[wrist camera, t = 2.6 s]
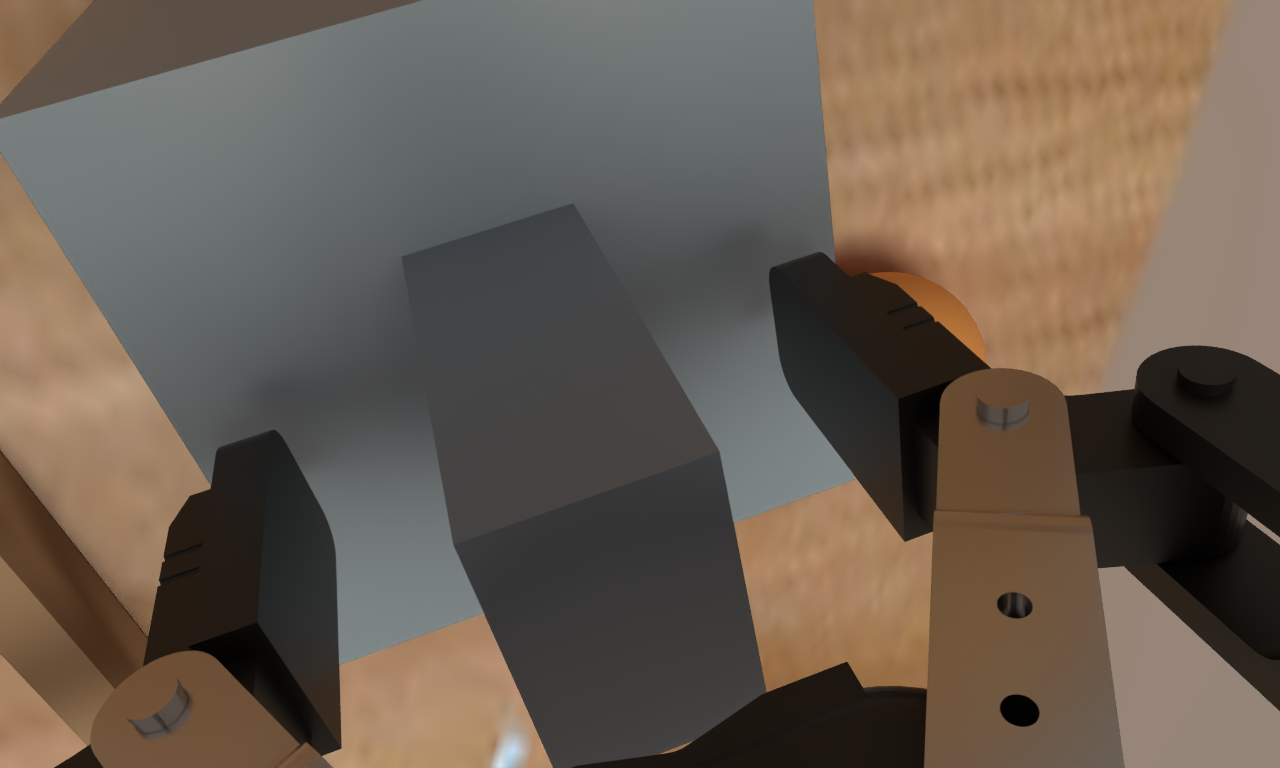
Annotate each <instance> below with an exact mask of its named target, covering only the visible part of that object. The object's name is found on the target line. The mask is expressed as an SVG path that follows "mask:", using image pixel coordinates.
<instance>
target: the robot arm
mask: <svg viewBox="0 0 1280 768" xmlns="http://www.w3.org/2000/svg"><path fill="white" fill-rule="evenodd" d="M769 286H770V293H771V301H772V308H773V315H774V323H775V330H776V337H777V345H778V352H779V358H780V363H781V367H782V370H783V373H784V376H785V379H786V381H787V384H788V386H789V388H790V390H791V392H792V394H793V395H794V397H795V398H796V399H797V401H798V402H799V403H800V405H801V406H802V407H803V409H804V410H805V411H806V413H807V414H808V415H809V417H810V418H811V419H812V421H813V422H814V423H815V424H816V426H817V427H818V428H819V430H820V431H821V432H822V434H823V435H824V436H825V438H826V439H827V440H828V442H829V443H830V444H831V445H832V447H833V448H834V449H835V451H836V452H837V453H838V455H839V456H840V457H841V459H842V460H843V461H844V463H845V464H846V465H847V467H848V468H849V469H850V470H851V472H852V473H853V474H854V476H855V477H856V478H857V480H858V481H859V482H860V484H861V485H862V486H863V488H864V489H865V490H866V491H867V493H868V494H869V495H870V497H871V498H872V499H873V501H874V502H875V503H876V505H877V506H878V507H879V509H880V510H881V511H882V513H883V514H884V515H885V516H886V518H887V519H888V520H889V522H890V523H891V524H892V526H893V527H894V528H895V530H896V531H897V532H898V534H899V535H900V536H901V537H902V539H903V540H904V541H905V542H906V541H908V540H911V539H914V538H916V537H919V536H922V535H924V534H927V533H930V532H933V547H932V574H931V600H930V626H929V653H928V679H927V689H924V688H915V687H904V686H875V687H867V688H863V687H862V686H861V684H860V682H859V681H858V679H857V677H856V676H855V674H854V672H853V671H852V669H851V667H850V666H849V664H848V662H845V663H842V664H840V665H837V666H835V667H832V668H829V669H827V670H824V671H822V672H819V673H816V674H814V675H811V676H809V677H806V678H803V679H801V680H798V681H796V682H793V683H790V684H788V685H785V686H783V687H780V688H777V689H775V690H772V691H769V692H767V693H764V694H762V695H760V696H759V697H757V698H756V699H754V700H753V701H751V702H750V703H748V704H747V705H745V706H744V707H743V708H741V709H740V710H738V711H737V712H735V713H734V714H732V715H731V716H729V717H728V718H727V719H725V720H724V721H722V722H721V723H719V724H718V725H716V726H715V727H714V728H712V729H711V730H709V731H708V732H706V733H705V734H703V735H702V736H700V737H699V738H698V739H696V740H695V741H693V742H692V743H690V744H689V745H687V746H686V747H684V748H682V749H680V750H678V751H675V752H671V753H666V754H658V755H651V756H644V757H636V758H629V759H622V760H614V761H607V762H600V763H592V764H585V765H578V766H574V767H572V768H1124V760H1123V753H1122V745H1121V737H1120V730H1119V722H1118V715H1117V708H1116V700H1115V693H1114V686H1113V678H1112V670H1111V663H1110V655H1109V649H1108V640H1107V633H1106V625H1105V618H1104V610H1103V603H1102V596H1101V588H1100V581H1099V573H1098V568H1107V567H1119V566H1124V567H1125V568H1126V569H1127V570H1128V571H1129V572H1131V574H1133V575H1134V576H1135V577H1136V578H1137V579H1138V580H1139V581H1140V582H1141V583H1142V584H1143V585H1144V586H1146V587H1147V588H1148V589H1149V590H1150V591H1151V592H1152V593H1153V594H1154V595H1155V596H1156V597H1158V598H1159V599H1160V600H1161V601H1162V602H1163V603H1164V604H1165V605H1166V606H1167V607H1168V608H1169V609H1170V610H1171V611H1172V612H1173V613H1175V614H1176V615H1177V616H1178V617H1179V618H1180V619H1181V620H1182V621H1183V622H1184V623H1185V624H1187V625H1188V626H1189V627H1190V628H1191V629H1192V630H1193V631H1194V632H1195V633H1196V634H1197V635H1199V637H1201V638H1202V639H1203V640H1204V641H1205V642H1206V643H1207V644H1208V645H1209V646H1210V647H1211V648H1212V649H1213V650H1214V651H1216V652H1217V653H1218V654H1219V655H1220V656H1221V657H1222V658H1223V659H1224V660H1225V661H1226V662H1227V663H1229V664H1230V665H1231V666H1232V667H1233V668H1234V669H1235V670H1236V671H1237V672H1238V673H1239V674H1240V675H1241V676H1242V677H1244V678H1245V679H1246V680H1247V681H1248V682H1249V683H1250V684H1251V685H1252V686H1253V687H1254V688H1255V689H1257V690H1258V691H1259V692H1260V693H1261V694H1262V695H1263V696H1264V697H1265V698H1266V699H1267V700H1268V701H1269V702H1271V703H1272V704H1273V705H1274V706H1275V707H1276V708H1277V709H1278V710H1279V711H1280V545H1279V544H1278V543H1277V542H1275V541H1274V540H1273V539H1271V538H1270V537H1269V536H1267V535H1266V534H1265V533H1263V532H1262V531H1261V530H1260V529H1258V528H1257V527H1256V526H1254V525H1253V524H1252V523H1250V522H1249V521H1248V520H1247V519H1246V518H1247V514H1250V515H1251V516H1252V517H1254V518H1255V519H1256V520H1258V521H1259V522H1260V523H1262V524H1263V525H1264V526H1266V527H1267V528H1268V529H1270V530H1271V531H1272V532H1274V533H1275V534H1276V535H1278V536H1279V537H1280V375H1279V374H1278V373H1276V372H1274V371H1273V370H1271V369H1269V368H1267V367H1266V366H1264V365H1262V364H1261V363H1259V362H1257V361H1256V360H1254V359H1252V358H1250V357H1248V356H1246V355H1243V354H1240V353H1237V352H1234V351H1230V350H1227V349H1223V348H1217V347H1210V346H1182V347H1174V348H1169V349H1166V350H1163V351H1160V352H1157V353H1155V354H1153V355H1151V356H1150V357H1148V358H1147V359H1146V360H1144V362H1143V363H1142V364H1141V365H1140V367H1139V368H1138V370H1137V376H1136V383H1135V389H1131V390H1122V391H1113V392H1104V393H1095V394H1086V395H1074V396H1064V395H1063V393H1062V392H1061V391H1060V390H1059V389H1058V387H1057V386H1056V385H1054V384H1053V383H1051V382H1050V381H1049V380H1047V379H1045V378H1043V377H1041V376H1039V375H1036V374H1033V373H1030V372H1027V371H1023V370H1017V369H1007V368H995V369H991V368H990V367H989V366H988V365H987V364H986V363H985V362H984V361H982V360H981V359H980V358H979V357H978V356H977V355H976V354H975V353H973V352H972V351H971V350H970V349H969V348H968V347H967V346H966V345H964V344H963V343H962V342H961V341H960V340H959V339H958V338H957V337H955V336H954V335H953V334H952V333H951V332H950V331H949V330H948V329H947V328H945V327H944V326H943V325H942V324H941V323H940V322H939V321H936V322H935V320H934V317H933V316H932V315H931V314H930V313H929V312H927V311H926V310H925V309H924V308H923V307H922V306H919V307H918V304H917V302H916V301H915V300H914V299H913V298H912V297H911V296H909V295H908V294H907V293H906V292H905V291H904V290H903V289H902V288H900V287H899V286H898V285H897V284H895V283H892V282H890V281H887V280H884V279H882V278H879V277H876V276H873V275H871V274H868V273H862V274H859V275H856V276H853V277H849V276H848V275H847V274H845V273H844V272H843V271H842V270H841V269H840V268H839V267H838V266H837V265H836V264H835V263H834V262H833V261H832V260H831V259H830V258H829V257H828V256H827V255H825V254H824V253H823V252H816V253H813V254H810V255H807V256H804V257H801V258H798V259H795V260H792V261H789V262H786V263H783V264H780V265H777V266H774V267H772V268H771V269H770V272H769ZM164 558H165V562H162V567H161V573H160V578H159V581H160V584H161V586H158V588H157V594H156V599H155V604H154V610H153V615H152V620H151V625H150V631H149V636H148V641H147V647H146V652H145V657H144V662H143V667H142V668H140V669H139V670H137V671H136V672H134V673H133V674H132V675H130V676H129V677H128V678H127V679H126V680H124V681H123V682H122V683H121V684H120V685H119V686H118V687H117V688H116V689H115V690H114V691H113V692H112V693H111V694H110V696H109V697H108V698H107V699H106V701H105V702H104V703H103V705H102V707H101V708H100V710H99V711H98V713H97V715H96V718H95V720H94V722H93V725H92V729H91V735H90V743H91V744H90V745H88V746H87V747H86V748H84V749H83V750H81V751H80V752H78V753H77V754H75V755H74V756H72V757H71V758H69V759H67V760H66V761H64V762H63V763H61V764H59V765H58V766H56V767H54V768H333V767H332V766H331V765H330V764H329V763H328V762H327V761H326V760H325V759H324V758H323V757H322V756H323V755H325V754H328V753H331V752H334V751H336V750H339V749H341V714H340V679H339V643H338V608H337V573H336V551H335V545H334V540H333V536H332V533H331V529H330V526H329V523H328V521H327V518H326V516H325V514H324V512H323V510H322V508H321V506H320V504H319V502H318V501H317V499H316V497H315V495H314V493H313V491H312V490H311V488H310V486H309V484H308V482H307V480H306V479H305V477H304V475H303V473H302V471H301V469H300V468H299V466H298V464H297V462H296V460H295V459H294V457H293V455H292V453H291V451H290V449H289V448H288V446H287V444H286V442H285V440H284V439H283V437H282V436H281V435H280V434H279V433H278V432H277V431H276V430H270V431H267V432H264V433H261V434H258V435H255V436H252V437H249V438H246V439H243V440H240V441H237V442H234V443H231V444H227V445H224V446H221V447H219V448H218V449H217V451H216V455H215V462H214V469H213V476H212V483H211V489H209V490H206V491H203V492H200V493H197V494H194V495H191V496H190V497H189V498H188V500H187V501H186V503H185V504H184V506H183V507H182V509H181V510H180V512H179V513H178V515H177V516H176V518H175V519H174V521H173V522H172V524H171V525H170V526H169V530H168V536H167V541H166V546H165V552H164Z"/></svg>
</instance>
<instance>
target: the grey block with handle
mask: <svg viewBox="0 0 1280 768" xmlns="http://www.w3.org/2000/svg"><path fill="white" fill-rule="evenodd" d="M0 152H1V154H2V155H3V157H4V159H5V160H6V162H7V163H8V165H9V167H10V168H11V170H12V171H13V173H14V174H15V176H16V178H17V179H18V181H19V182H20V184H21V186H22V187H23V189H24V190H25V192H26V193H27V195H28V197H29V198H30V200H31V201H32V203H33V205H34V206H35V208H36V209H37V211H38V212H39V214H40V216H41V217H42V219H43V220H44V222H45V224H46V225H47V227H48V228H49V230H50V231H51V233H52V235H53V236H54V238H55V239H56V241H57V243H58V244H59V246H60V247H61V249H62V250H63V252H64V254H65V255H66V257H67V258H68V260H69V262H70V263H71V265H72V266H73V268H74V269H75V271H76V273H77V274H78V276H79V277H80V279H81V281H82V282H83V284H84V285H85V287H86V288H87V290H88V292H89V293H90V295H91V296H92V298H93V300H94V301H95V303H96V304H97V306H98V307H99V309H100V311H101V312H102V314H103V315H104V317H105V319H106V320H107V322H108V323H109V325H110V326H111V328H112V330H113V331H114V333H115V334H116V336H117V338H118V339H119V341H120V342H121V344H122V345H123V347H124V349H125V350H126V352H127V353H128V355H129V357H130V358H131V360H132V361H133V363H134V364H135V366H136V368H137V369H138V371H139V372H140V374H141V376H142V377H143V379H144V380H145V382H146V383H147V385H148V387H149V388H150V390H151V391H152V393H153V395H154V396H155V398H156V399H157V401H158V402H159V404H160V406H161V407H162V409H163V410H164V412H165V414H166V415H167V417H168V418H169V420H170V421H171V423H172V425H173V426H174V428H175V429H176V431H177V433H178V434H179V436H180V437H181V439H182V440H183V442H184V444H185V445H186V447H187V448H188V450H189V452H190V453H191V455H192V456H193V458H194V459H195V461H196V463H197V464H198V466H199V467H200V469H201V471H202V472H203V474H204V475H205V477H206V478H207V480H208V482H209V483H210V485H211V483H212V476H213V469H214V462H215V455H216V451H217V449H218V448H219V447H221V446H224V445H227V444H231V443H234V442H237V441H240V440H243V439H246V438H249V437H252V436H255V435H258V434H261V433H264V432H267V431H270V430H276V431H277V432H278V433H279V434H280V435H281V436H282V437H283V439H284V440H285V442H286V444H287V446H288V448H289V449H290V451H291V453H292V455H293V457H294V459H295V460H296V462H297V464H298V466H299V468H300V469H301V471H302V473H303V475H304V477H305V479H306V480H307V482H308V484H309V486H310V488H311V490H312V491H313V493H314V495H315V497H316V499H317V501H318V502H319V504H320V506H321V508H322V510H323V512H324V514H325V516H326V518H327V521H328V523H329V526H330V529H331V533H332V536H333V540H334V545H335V551H336V573H337V608H338V643H339V665H341V664H344V663H347V662H350V661H352V660H355V659H358V658H361V657H363V656H366V655H369V654H372V653H375V652H377V651H380V650H383V649H386V648H388V647H391V646H394V645H397V644H400V643H402V642H405V641H408V640H411V639H413V638H416V637H419V636H422V635H425V634H427V633H430V632H433V631H436V630H438V629H441V628H444V627H447V626H450V625H452V624H455V623H458V622H461V621H463V620H466V619H469V618H472V617H474V616H477V615H480V614H483V613H484V614H485V617H486V619H487V621H488V623H489V626H490V628H491V630H492V632H493V634H494V637H495V639H496V641H497V643H498V646H499V648H500V650H501V652H502V655H503V657H504V659H505V661H506V663H507V666H508V668H509V670H510V672H511V675H512V677H513V679H514V681H515V683H516V686H517V688H518V690H519V692H520V695H521V697H522V699H523V701H524V704H525V706H526V708H527V710H528V712H529V715H530V717H531V719H532V721H533V724H534V726H535V728H536V730H537V733H538V735H539V737H540V739H541V741H542V744H543V746H544V748H545V750H546V753H547V755H548V757H549V759H550V762H551V764H552V766H553V768H572V767H574V766H578V765H585V764H592V763H600V762H607V761H614V760H622V759H629V758H636V757H644V756H651V755H657V754H660V753H663V752H665V751H668V750H670V749H673V748H676V747H678V746H681V745H683V744H686V743H688V742H691V741H694V740H696V739H698V738H699V737H700V736H702V735H703V734H705V733H706V732H708V731H709V730H711V729H712V728H714V727H715V726H716V725H718V724H719V723H721V722H722V721H724V720H725V719H727V718H728V717H729V716H731V715H732V714H734V713H735V712H737V711H738V710H740V709H741V708H743V707H744V706H745V705H747V704H748V703H750V702H751V701H753V700H754V699H756V698H757V697H759V696H760V695H762V694H764V693H766V687H765V682H764V677H763V672H762V667H761V662H760V656H759V651H758V646H757V641H756V636H755V631H754V626H753V620H752V615H751V610H750V605H749V600H748V595H747V590H746V584H745V579H744V574H743V569H742V564H741V559H740V553H739V548H738V543H737V538H736V533H735V528H734V523H735V522H738V521H741V520H744V519H746V518H749V517H752V516H755V515H758V514H760V513H763V512H766V511H769V510H771V509H774V508H777V507H780V506H783V505H785V504H788V503H791V502H794V501H796V500H799V499H802V498H805V497H807V496H810V495H813V494H816V493H819V492H821V491H824V490H827V489H830V488H832V487H835V486H838V485H841V484H844V483H846V482H849V481H852V480H854V475H853V473H852V472H851V470H850V469H849V468H848V467H847V465H846V464H845V463H844V461H843V460H842V459H841V457H840V456H839V455H838V453H837V452H836V451H835V449H834V448H833V447H832V445H831V444H830V443H829V442H828V440H827V439H826V438H825V436H824V435H823V434H822V432H821V431H820V430H819V428H818V427H817V426H816V424H815V423H814V422H813V421H812V419H811V418H810V417H809V415H808V414H807V413H806V411H805V410H804V409H803V407H802V406H801V405H800V403H799V402H798V401H797V399H796V398H795V397H794V395H793V394H792V392H791V390H790V388H789V386H788V384H787V381H786V379H785V376H784V373H783V370H782V367H781V363H780V358H779V352H778V345H777V337H776V330H775V323H774V315H773V308H772V301H771V293H770V286H769V272H770V269H771V268H772V267H774V266H777V265H780V264H783V263H786V262H789V261H792V260H795V259H798V258H801V257H804V256H807V255H810V254H813V253H816V252H823V253H824V254H825V255H827V256H828V257H829V258H830V259H831V260H832V261H833V262H834V263H835V252H834V241H833V229H832V217H831V206H830V194H829V182H828V171H827V159H826V147H825V136H824V124H823V112H822V100H821V89H820V77H819V65H818V54H817V42H816V30H815V19H814V7H813V0H94V1H93V2H92V4H91V5H90V6H89V7H88V8H87V9H86V10H85V11H84V12H83V13H82V15H81V16H80V17H79V18H78V19H77V20H76V21H75V22H74V23H73V24H72V26H71V27H70V28H69V29H68V30H67V31H66V32H65V33H64V34H63V35H62V37H61V38H60V39H59V40H58V41H57V42H56V43H55V44H54V45H53V46H52V48H51V49H50V50H49V51H48V52H47V53H46V54H45V55H44V56H43V57H42V59H41V60H40V61H39V62H38V63H37V64H36V65H35V66H34V67H33V68H32V70H31V71H30V72H29V73H28V74H27V75H26V76H25V77H24V78H23V79H22V81H21V82H20V83H19V84H18V85H17V86H16V87H15V88H14V89H13V90H12V92H11V93H10V94H9V95H8V96H7V97H6V98H5V99H4V100H3V102H2V103H1V104H0Z"/></svg>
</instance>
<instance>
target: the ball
mask: <svg viewBox="0 0 1280 768" xmlns="http://www.w3.org/2000/svg"><path fill="white" fill-rule="evenodd" d="M871 275H873V276H876V277H879V278H882V279H884V280H887V281H890V282H892V283H895V284H897V285H898V286H899V287H900V288H902V289H903V290H904V291H905V292H906V293H907V294H908V295H909V296H911V297H912V298H913V299H914V300H915V301H916V302H917V304H918V307H919V306H922V307H923V308H924V309H925V310H926V311H927V312H929V313H930V314H931V315H932V316H933V317H934V320H935V322H936V321H939V322H940V323H941V324H942V325H943V326H944V327H945V328H947V329H948V330H949V331H950V332H951V333H952V334H953V335H954V336H955V337H957V338H958V339H959V340H960V341H961V342H962V343H963V344H964V345H966V346H967V347H968V348H969V349H970V350H971V351H972V352H973V353H975V354H976V355H977V356H978V357H979V358H980V359H981V360H982V361H984V362H985V363H986V354H985V348H984V344H983V339H982V337H981V334H980V332H979V329H978V327H977V325H976V323H975V321H974V319H973V318H972V316H971V315H970V313H969V312H968V310H967V309H966V308H965V307H964V305H963V304H962V303H961V302H960V301H959V300H958V299H957V298H956V297H955V296H954V295H952V294H951V293H950V292H948V291H947V290H946V289H944V288H943V287H941V286H940V285H938V284H936V283H934V282H932V281H930V280H927V279H925V278H922V277H919V276H916V275H912V274H907V273H900V272H878V273H871Z"/></svg>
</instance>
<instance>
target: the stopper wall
mask: <svg viewBox="0 0 1280 768" xmlns="http://www.w3.org/2000/svg"><path fill="white" fill-rule="evenodd" d="M147 641H148V639H147V637H146V636H145V635H144V633H143V632H142V631H141V630H140V628H139V627H138V626H137V625H136V623H135V622H134V621H133V619H132V618H131V617H130V616H129V614H128V613H127V612H126V611H125V609H124V608H123V607H122V606H121V604H120V603H119V602H118V600H117V599H116V598H115V597H114V595H113V594H112V593H111V592H110V590H109V589H108V588H107V586H106V585H105V584H104V583H103V581H102V580H101V579H100V578H99V576H98V575H97V574H96V573H95V571H94V570H93V569H92V567H91V566H90V565H89V564H88V562H87V561H86V560H85V559H84V557H83V556H82V555H81V553H80V552H79V551H78V550H77V548H76V547H75V546H74V545H73V543H72V542H71V541H70V540H69V538H68V537H67V536H66V534H65V533H64V532H63V531H62V529H61V528H60V527H59V526H58V524H57V523H56V522H55V520H54V519H53V518H52V517H51V515H50V514H49V513H48V512H47V510H46V509H45V508H44V507H43V505H42V504H41V503H40V501H39V500H38V499H37V498H36V496H35V495H34V494H33V493H32V491H31V490H30V489H29V487H28V486H27V485H26V484H25V482H24V481H23V480H22V479H21V477H20V476H19V475H18V474H17V472H16V471H15V470H14V468H13V467H12V466H11V465H10V463H9V462H8V461H7V460H6V458H5V457H4V456H3V454H2V453H1V452H0V654H1V655H2V656H3V657H4V658H5V659H6V660H7V661H8V662H9V663H10V664H11V666H12V667H13V668H14V669H15V670H16V671H17V672H18V673H19V674H20V675H21V676H22V677H23V678H24V679H25V680H26V681H27V682H28V683H29V685H30V686H31V687H32V688H33V689H34V690H35V691H36V692H37V693H38V694H39V695H40V696H41V697H42V698H43V699H44V700H45V701H46V703H47V704H48V705H49V706H50V707H51V708H52V709H53V710H54V711H55V712H56V713H57V714H58V715H59V716H60V717H61V718H62V719H63V721H64V722H65V723H66V724H67V725H68V726H69V727H70V728H71V729H72V730H73V731H74V732H75V733H76V734H77V735H78V736H79V737H80V738H81V740H82V741H83V742H84V743H85V744H86V745H87V746H88V745H90V744H91V743H90V735H91V729H92V725H93V722H94V720H95V718H96V715H97V713H98V711H99V710H100V708H101V707H102V705H103V703H104V702H105V701H106V699H107V698H108V697H109V696H110V694H111V693H112V692H113V691H114V690H115V689H116V688H117V687H118V686H119V685H120V684H121V683H122V682H123V681H124V680H126V679H127V678H128V677H129V676H130V675H132V674H133V673H134V672H136V671H137V670H139V669H140V668H142V667H143V662H144V657H145V652H146V647H147Z"/></svg>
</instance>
